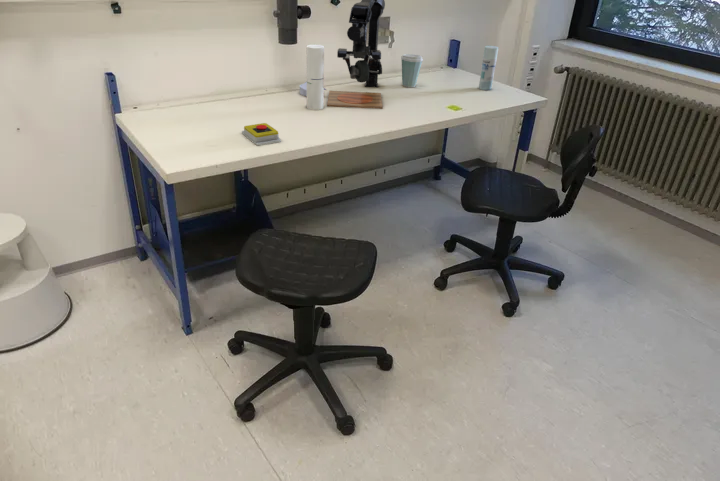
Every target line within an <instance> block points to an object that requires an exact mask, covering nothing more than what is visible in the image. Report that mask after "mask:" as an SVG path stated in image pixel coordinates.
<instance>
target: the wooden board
mask: <svg viewBox="0 0 720 481" xmlns="http://www.w3.org/2000/svg"><path fill="white" fill-rule="evenodd" d="M326 107H331V108H333V107H334V108H338V107H339V108H356V109H377V110H378V109H381V110H382V109H383V107H384V106H383V99H382V92H371V91H369V92H368V91H347V90H345V91H344V90H329V91H328V97H327V102H326Z"/></svg>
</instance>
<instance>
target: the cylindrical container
mask: <svg viewBox="0 0 720 481" xmlns="http://www.w3.org/2000/svg"><path fill="white" fill-rule="evenodd" d="M305 47H306V51H305V52H306V56H305V57H306V81H307V96H306V108H307V109H308V110H313V111H319V110H323V109H324V100H325V99H324V97H325V96H324V94H325V92H324V91H325V90H324V88H325V46H324V45H322V44H315V43H314V44H308V45H306V46H305Z"/></svg>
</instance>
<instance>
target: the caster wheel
mask: <svg viewBox="0 0 720 481" xmlns="http://www.w3.org/2000/svg"><path fill="white" fill-rule="evenodd" d="M350 66H351V74H350V73H349V78H350V79H351V80H356V81H357V83H366V81H367V80H368V78H369V66H368V64H367V62H366V61H365V60H364V59H357V61H355V63H354V64H350Z"/></svg>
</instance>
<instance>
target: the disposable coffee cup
mask: <svg viewBox="0 0 720 481" xmlns="http://www.w3.org/2000/svg"><path fill="white" fill-rule="evenodd" d="M400 60H401V84H402V86H403V87H406V88H415V87H416V85H417V83H418V79H419V75H420V71H421V67H422V63H423V61H424V58H423V55H420V54H413V53H405V54H402V56H401V59H400Z"/></svg>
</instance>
